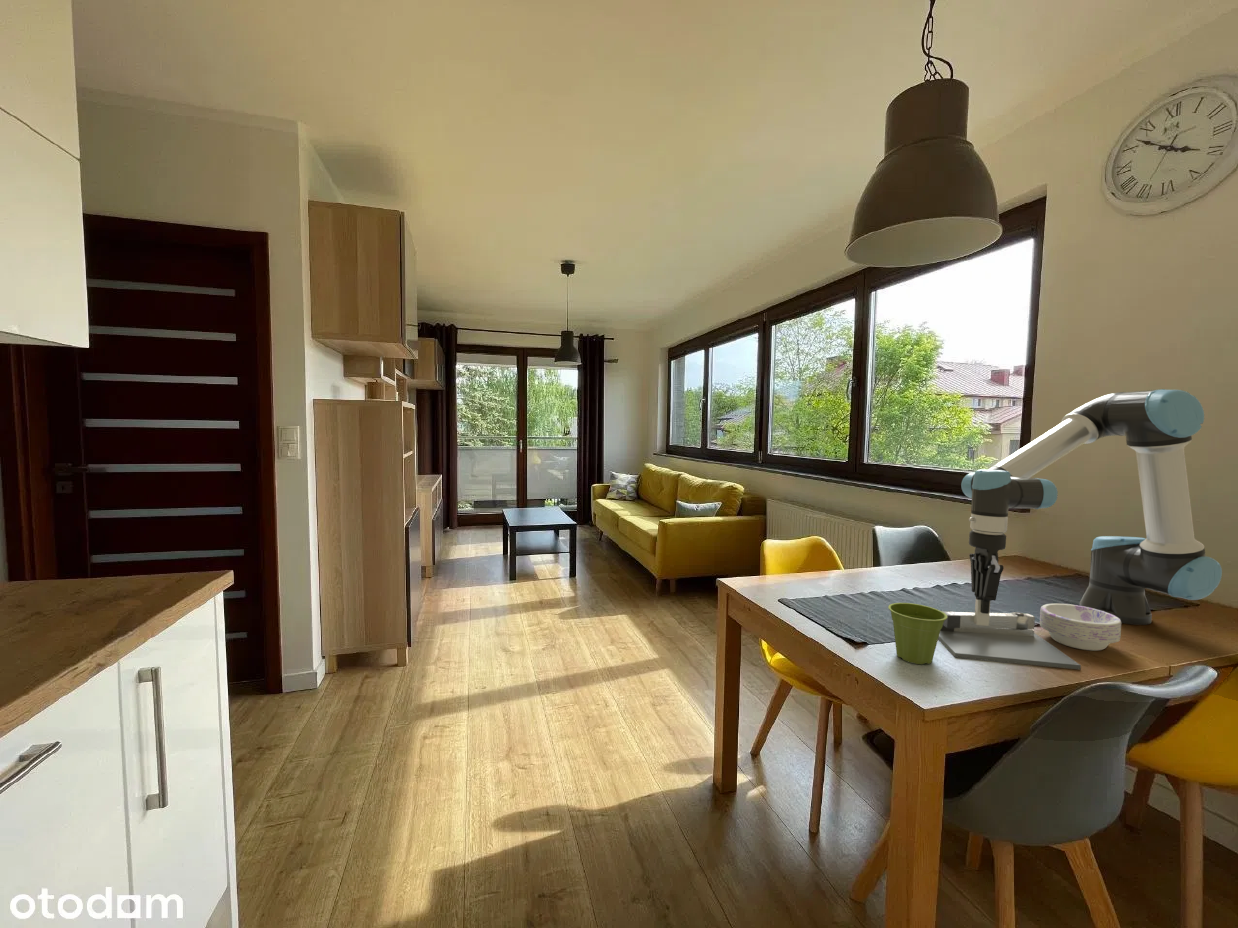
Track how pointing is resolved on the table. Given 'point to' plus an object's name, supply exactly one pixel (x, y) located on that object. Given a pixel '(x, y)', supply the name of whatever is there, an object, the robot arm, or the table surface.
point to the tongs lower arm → (992, 631)
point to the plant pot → (916, 631)
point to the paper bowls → (1080, 626)
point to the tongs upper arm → (990, 620)
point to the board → (1005, 649)
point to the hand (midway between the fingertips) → (981, 624)
